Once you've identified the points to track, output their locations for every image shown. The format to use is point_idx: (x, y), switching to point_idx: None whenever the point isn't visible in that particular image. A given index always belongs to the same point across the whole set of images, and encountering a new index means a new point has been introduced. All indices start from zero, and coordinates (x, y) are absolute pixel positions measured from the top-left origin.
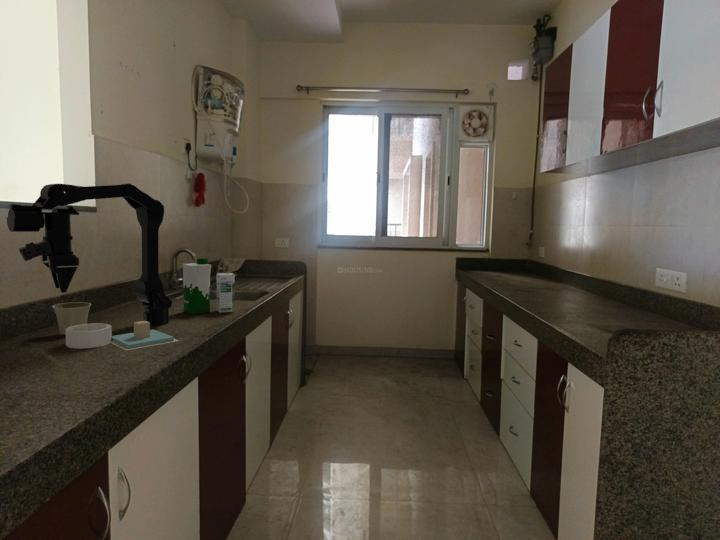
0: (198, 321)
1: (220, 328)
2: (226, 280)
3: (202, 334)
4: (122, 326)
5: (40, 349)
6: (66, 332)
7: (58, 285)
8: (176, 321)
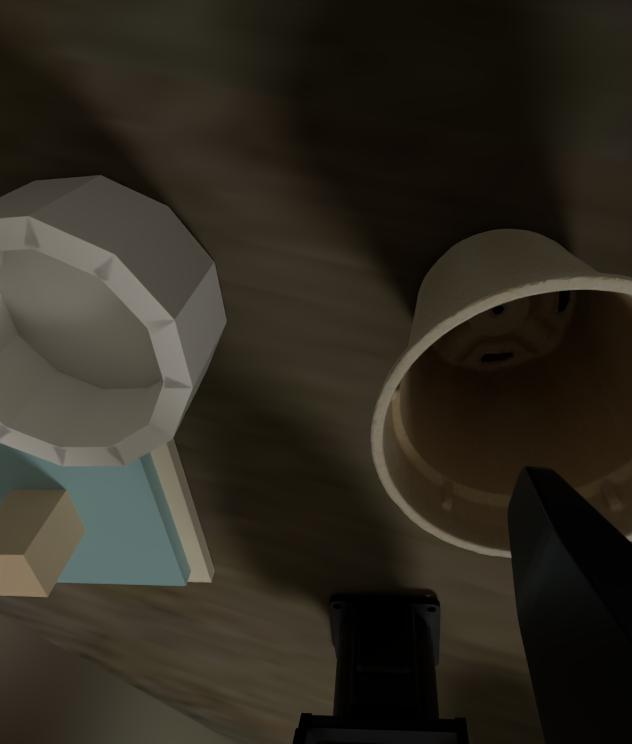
0: None
1: (194, 716)
2: None
3: (125, 656)
4: None
5: (153, 15)
6: (16, 211)
7: (520, 527)
8: None
